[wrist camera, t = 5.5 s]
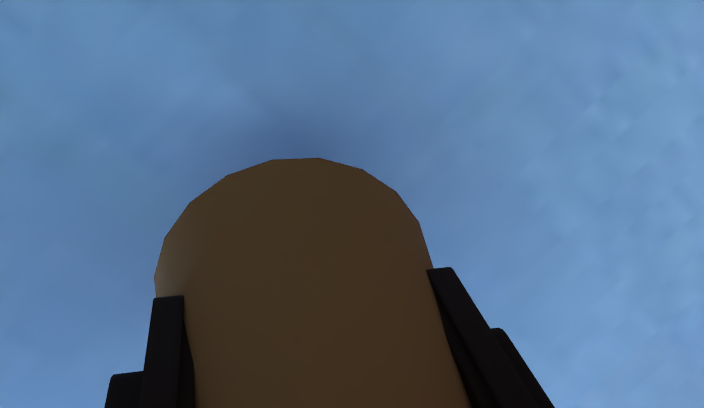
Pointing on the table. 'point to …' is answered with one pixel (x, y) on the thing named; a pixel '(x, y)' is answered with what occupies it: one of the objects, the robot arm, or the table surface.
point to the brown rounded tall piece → (308, 293)
